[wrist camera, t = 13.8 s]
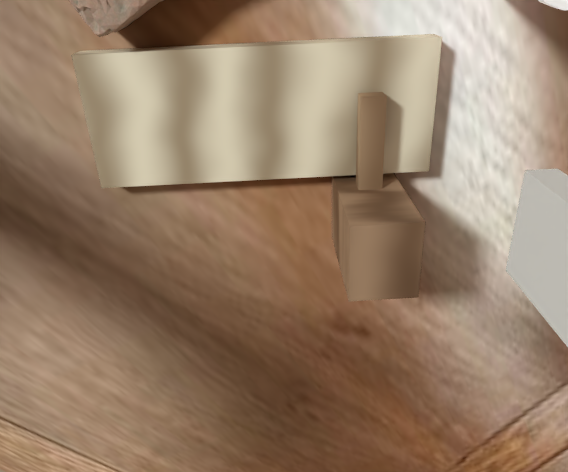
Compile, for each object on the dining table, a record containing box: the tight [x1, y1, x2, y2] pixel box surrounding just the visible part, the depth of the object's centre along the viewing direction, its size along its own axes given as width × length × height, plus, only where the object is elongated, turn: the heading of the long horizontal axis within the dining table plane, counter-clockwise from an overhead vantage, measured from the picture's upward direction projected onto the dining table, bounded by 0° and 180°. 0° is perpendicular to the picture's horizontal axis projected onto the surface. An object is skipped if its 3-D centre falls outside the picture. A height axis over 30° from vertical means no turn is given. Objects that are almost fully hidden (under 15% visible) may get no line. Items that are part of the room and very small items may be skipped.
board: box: [71, 34, 442, 188], centre depth 39 cm, size 26×10×2 cm, turn 92°
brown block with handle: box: [332, 92, 426, 301], centre depth 37 cm, size 5×13×10 cm, turn 3°
